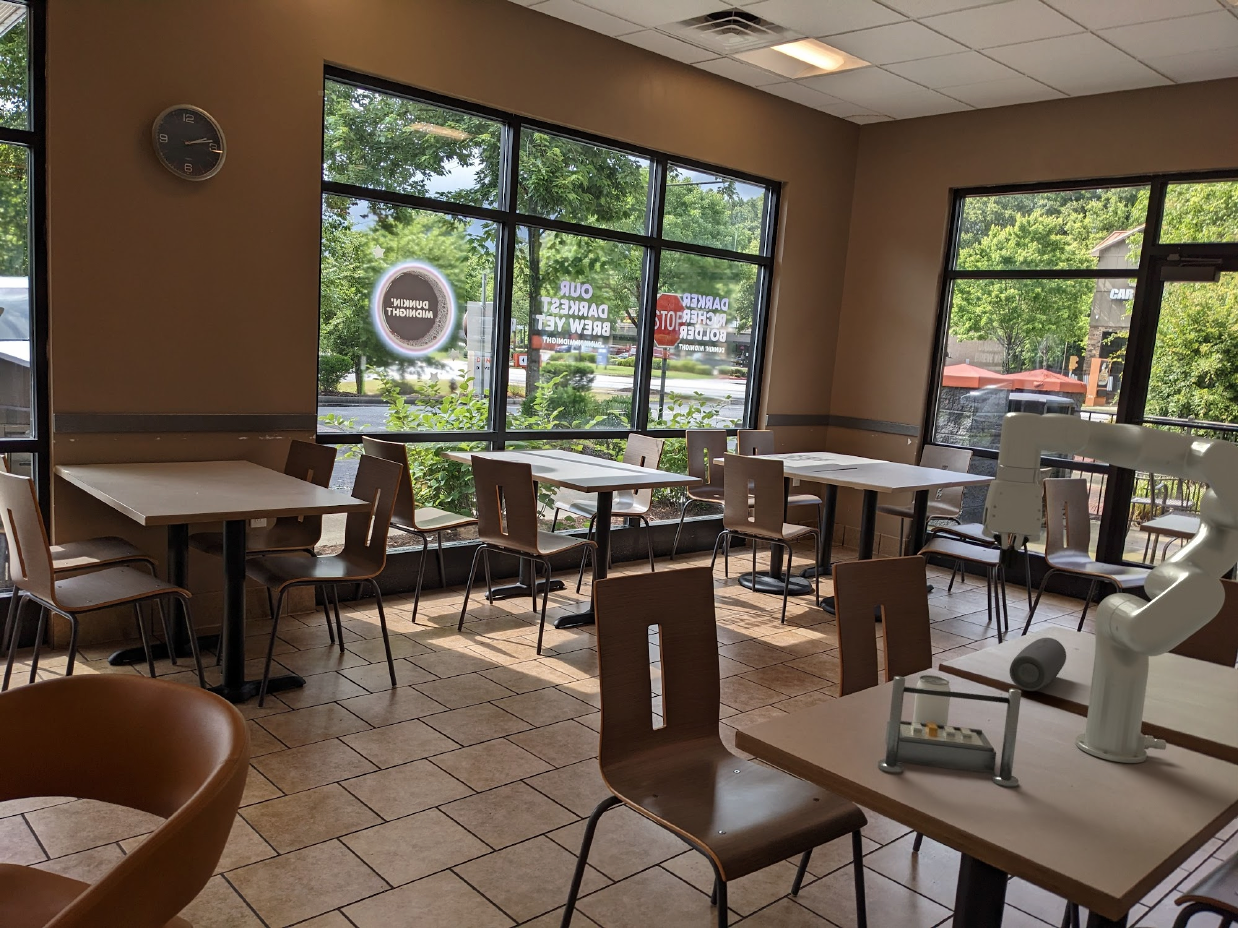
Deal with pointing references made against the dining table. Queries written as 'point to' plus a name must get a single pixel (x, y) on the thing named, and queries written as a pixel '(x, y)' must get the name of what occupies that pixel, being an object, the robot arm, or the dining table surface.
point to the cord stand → (899, 688)
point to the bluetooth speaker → (1038, 664)
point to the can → (932, 701)
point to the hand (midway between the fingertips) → (1007, 568)
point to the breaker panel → (944, 747)
